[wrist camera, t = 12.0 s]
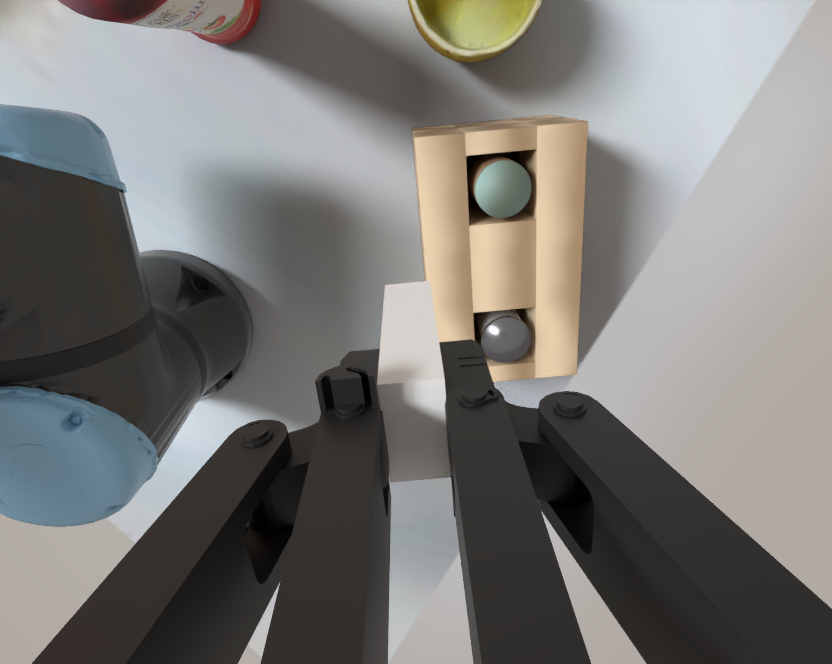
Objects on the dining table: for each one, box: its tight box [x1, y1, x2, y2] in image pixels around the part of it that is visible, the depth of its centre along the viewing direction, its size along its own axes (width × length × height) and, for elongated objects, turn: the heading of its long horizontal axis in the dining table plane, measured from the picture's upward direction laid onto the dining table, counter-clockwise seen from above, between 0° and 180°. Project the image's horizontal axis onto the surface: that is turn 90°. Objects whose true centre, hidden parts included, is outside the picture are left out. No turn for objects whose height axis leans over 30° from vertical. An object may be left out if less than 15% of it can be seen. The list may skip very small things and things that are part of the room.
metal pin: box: [474, 309, 531, 363], centre depth 47 cm, size 4×4×9 cm
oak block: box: [412, 115, 588, 382], centre depth 45 cm, size 12×20×10 cm, turn 5°
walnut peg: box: [466, 153, 531, 218], centre depth 42 cm, size 4×4×9 cm
